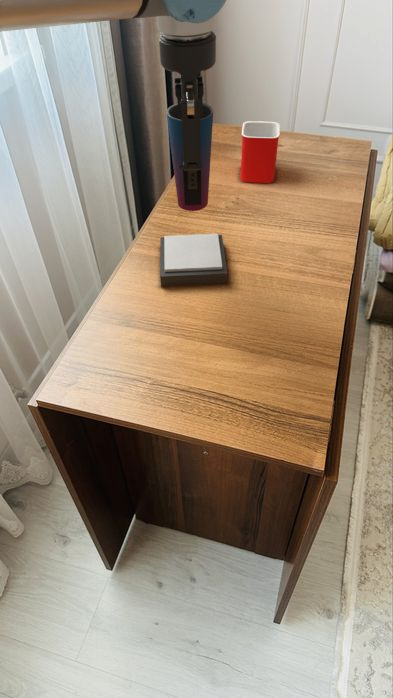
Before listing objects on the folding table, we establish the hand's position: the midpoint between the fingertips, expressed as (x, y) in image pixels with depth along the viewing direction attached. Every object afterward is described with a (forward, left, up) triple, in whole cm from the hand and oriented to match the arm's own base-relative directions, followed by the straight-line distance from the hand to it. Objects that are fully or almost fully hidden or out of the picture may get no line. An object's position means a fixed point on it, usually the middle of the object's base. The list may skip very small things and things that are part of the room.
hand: (192, 192), depth 82 cm
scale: (0, +1, -16) cm, 16 cm away
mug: (+17, +36, -16) cm, 43 cm away
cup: (0, 0, -2) cm, 2 cm away
